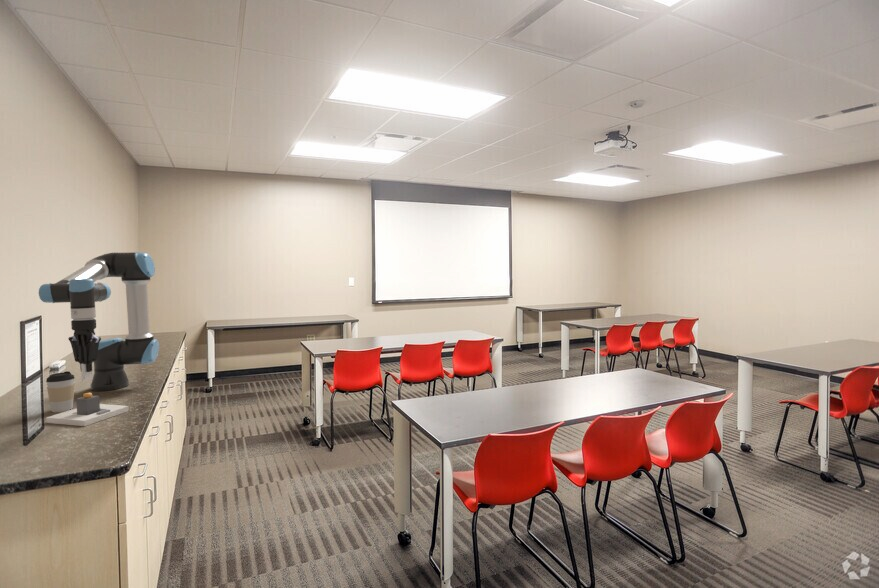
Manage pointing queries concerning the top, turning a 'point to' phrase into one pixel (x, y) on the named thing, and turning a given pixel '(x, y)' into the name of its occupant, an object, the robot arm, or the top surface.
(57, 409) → the coffee cup
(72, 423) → the socket plate
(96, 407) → the plug
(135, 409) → the top surface
